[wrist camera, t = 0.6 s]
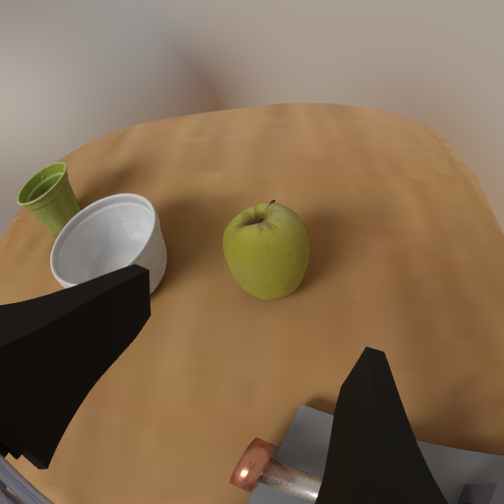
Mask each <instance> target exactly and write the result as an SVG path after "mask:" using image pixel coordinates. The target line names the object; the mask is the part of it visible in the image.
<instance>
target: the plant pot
mask: <svg viewBox="0 0 504 504" xmlns="http://www.w3.org/2000/svg"><path fill="white" fill-rule="evenodd" d="M17 203H18V204H19V205H20V206H24V207H25V208H26V209H27V210H30V211H31V212H32V213H33V214H34V215H35V216H36V217H37V218H38V219H39V220H40V221H41V222H42V223H43V224H44V225H45V226H46V227H47V228H48V229H49V230H50V231H51V232H52V233H53V234H54V235H59V234H60V232H61V231H62V230H63V228H64V227H65V226H66V224H67V223H68V222H69V221H70V220H71V219H72V218H73V217H74V216H75V215H76V214H78V213H79V212H80V211H81V209H80V207H79V205H78V202H77V200H76V198H75V195H74V193H73V191H72V188H71V185H70V183H69V180H68V174H67V165H66V163H64V162H56V163H53V164H51V165H48V166H46V167H44V168H43V169H42V170H40V171H38V172H37V173H36V174H35V175H33V176H32V177H31V178H30V179H29V180H28V181H27V182H26V183H25V185H24V186H23V187H22V189H21V190H20V192H19V194H18V197H17Z"/></svg>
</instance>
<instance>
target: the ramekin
mask: <svg viewBox="0 0 504 504" xmlns="http://www.w3.org/2000/svg"><path fill="white" fill-rule="evenodd" d="M133 264H137V265H139V266H141V267H144V268H146V269H149V270H150V295H151V294H152V292H153V291H154V290H155V289H156V287H157V286H158V284H159V283H160V281H161V279H162V278H163V275H164V273H165V269H166V264H167V252H166V246H165V243H164V239H163V236H162V233H161V229H160V220H159V216H158V214H157V211H156V210H155V208H154V206H153V204H152V203H151V202H150V201H149V200H148V199H147V198H145V197H143V196H141V195H137V194H130V193H124V194H117V195H112V196H108V197H105V198H103V199H100V200H98V201H96V202H94V203H92V204H91V205H89V206H87V207H86V208H84V209H83V210H81V211H80V212H79V213H78V214H76V215H75V216H74V217H73V218H72V219H71V220H70V221H69V222H68V223H67V224H66V226H65V227H64V228H63V230H62V231H61V232H60V234H59V236H58V237H57V239H56V241H55V244H54V246H53V249H52V253H51V269H52V272H53V274H54V276H55V278H56V279H57V280H58V281H59V282H60V284H61V285H62V286H63V287H64V288H69V287H72V286H75V285H78V284H81V283H83V282H86V281H89V280H91V279H94V278H97V277H99V276H102V275H105V274H107V273H110V272H113V271H115V270H118V269H121V268H124V267H126V266H130V265H133Z"/></svg>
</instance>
